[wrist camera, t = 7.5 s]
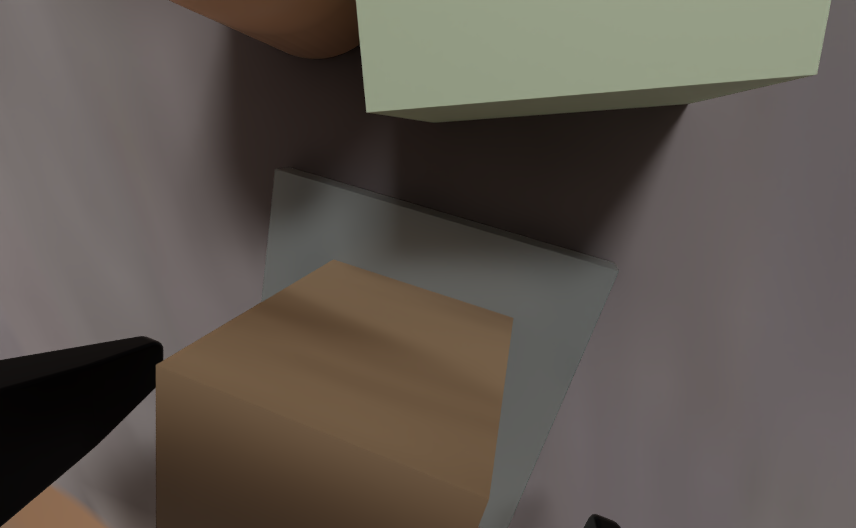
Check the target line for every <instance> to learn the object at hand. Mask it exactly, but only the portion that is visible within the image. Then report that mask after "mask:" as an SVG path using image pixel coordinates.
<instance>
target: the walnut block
mask: <svg viewBox="0 0 856 528" xmlns="http://www.w3.org/2000/svg"><path fill="white" fill-rule="evenodd" d="M512 325H513V318H512V317H509V316H506V315H503V314H500V313H497V312H494V311H491V310H488V309H485V308H481V307H478V306H475V305H472V304H469V303H466V302H463V301H460V300H457V299H454V298H451V297H448V296H445V295H441V294H438V293H435V292H432V291H429V290H426V289H423V288H420V287H417V286H414V285H411V284H408V283H405V282H401V281H398V280H395V279H392V278H389V277H386V276H383V275H380V274H377V273H374V272H371V271H368V270H365V269H361V268H358V267H355V266H352V265H349V264H346V263H343V262H340V261H337V260H334V259H333V260H332V261H330V262H328V263H327V264H325V265H323V266H322V267H320V268H318V269H316V270H315V271H313V272H311V273H310V274H308V275H306V276H305V277H303V278H301V279H300V280H298V281H296V282H295V283H293V284H291V285H290V286H288V287H286V288H285V289H283V290H281V291H279V292H278V293H276V294H274V295H273V296H271V297H269V298H268V299H266V300H264V301H263V302H261V303H259V304H258V305H256V306H254V307H253V308H251V309H249V310H248V311H246V312H244V313H242V314H241V315H239V316H237V317H236V318H234V319H232V320H231V321H229V322H227V323H226V324H224V325H222V326H221V327H219V328H217V329H216V330H214V331H212V332H211V333H209V334H207V335H205V336H204V337H202V338H200V339H199V340H197V341H195V342H194V343H192V344H190V345H189V346H187V347H185V348H184V349H182V350H180V351H179V352H177V353H175V354H174V355H172V356H170V357H168V358H167V359H165V360H163V361H162V362H160V363H158V364H157V365H156V528H478V526H479V524H480V521H481V519H482V516H483V513H484V511H485V508H486V506H487V503H488V501H489V496H490V489H491V481H492V474H493V466H494V459H495V451H496V444H497V437H498V429H499V422H500V414H501V407H502V399H503V392H504V385H505V377H506V370H507V362H508V355H509V347H510V340H511V332H512Z"/></svg>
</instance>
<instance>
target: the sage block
mask: <svg viewBox="0 0 856 528" xmlns="http://www.w3.org/2000/svg"><path fill="white" fill-rule="evenodd" d="M830 4H831V0H356V7H357V18H358V28H359V39H360V50H361V60H362V71H363V82H364V92H365V103H366V112H367V113H373V114H380V115H386V116H393V117H399V118H406V119H413V120H419V121H426V122H432V123H438V122H451V121H465V120H478V119H492V118H505V117H519V116H532V115H546V114H559V113H573V112H586V111H600V110H613V109H627V108H640V107H654V106H667V105H681V104H690V103H695V102H699V101H703V100H708V99H712V98H716V97H721V96H725V95H730V94H734V93H738V92H743V91H747V90H751V89H756V88H760V87H764V86H769V85H773V84H778V83H782V82H786V81H791V80H795V79H799V78H804V77H808V76H813V75H817V71H818V66H819V61H820V56H821V51H822V45H823V40H824V35H825V30H826V25H827V19H828V14H829V9H830Z"/></svg>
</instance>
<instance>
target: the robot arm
mask: <svg viewBox="0 0 856 528" xmlns="http://www.w3.org/2000/svg"><path fill="white" fill-rule="evenodd" d="M162 361H163V346H162V344H161V343H160V342H158V341H156V340H153V339H151V338H148V337H144V336H139V337H133V338H127V339H121V340H116V341H110V342H104V343H98V344H92V345H86V346H80V347H74V348H69V349H63V350H57V351H51V352H45V353H39V354H33V355H27V356H22V357H16V358H10V359H4V360H0V527H1V526H2V525H3V524H5V523H6V522H7V521H8V520H9V519H11V518H12V517H13V516H14V515H15V514H16V513H18V512H19V511H20V510H21V509H22V508H24V507H25V506H26V505H27V504H28V503H29V502H30V501H32V500H33V499H34V498H35V497H37V496H38V495H39V494H40V493H41V492H43V491H44V490H45V489H46V488H47V487H48V486H50V485H51V484H52V483H53V482H54V481H56V480H57V479H58V478H59V477H60V476H62V475H63V474H64V473H65V472H66V471H67V470H69V469H70V468H71V467H72V466H73V465H75V464H76V463H77V462H78V461H79V460H80V459H82V458H83V457H84V456H85V455H86V454H87V453H89V452H90V451H91V450H92V449H93V448H94V447H95V446H97V445H98V444H99V443H100V442H101V441H102V440H103V439H104V438H105V437H106V436H107V435H108V434H109V433H110V432H111V431H112V430H113V429H114V428H115V427H116V426H117V425H118V424H119V423H120V422H121V421H122V420H123V419H124V418H125V417H126V416H127V415H128V414H129V413H130V412H131V411H132V410H133V409H134V408H135V407H136V406H137V405H138V404H139V403H140V402H141V401H142V400H143V399H145V398H146V397H147V396H148V395H149V394H150V393H151V392H152V391H153V390H154V389H155V388H156V365H157V364H158V363H160V362H162ZM584 528H621V527H620V526H619V525H618V524H617V523H616V522H615V521H612V520H610V519H607V518H605V517H602V516H600V515H597V514H593V515H591V516H590V517H589V519H588V521H587V522H586V524H585V526H584Z"/></svg>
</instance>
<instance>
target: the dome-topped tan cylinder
mask: <svg viewBox="0 0 856 528" xmlns="http://www.w3.org/2000/svg"><path fill="white" fill-rule="evenodd" d="M169 1H172V2H174V3H176V4H178V5H180V6H183V7H185V8H187V9H189V10H192V11H194V12H196V13H198V14H201V15H203V16H205V17H207V18H210V19H212V20H214V21H216V22H219V23H221V24H223V25H225V26H227V27H230V28H232V29H234V30H236V31H239V32H241V33H243V34H245V35H248V36H250V37H252V38H254V39H257V40H259V41H261V42H263V43H266V44H268V45H270V46H272V47H274V48H277V49H279V50H281V51H283V52H286V53H288V54H290V55H294V56H297V57H301V58H308V59H324V58H329V57H334V56H337V55H340V54H343V53H346V52H347V51H349V50H351V49H353V48H355V47H356V46H358V45H359V44H360V39H359V28H358V18H357V7H356V0H169Z"/></svg>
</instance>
